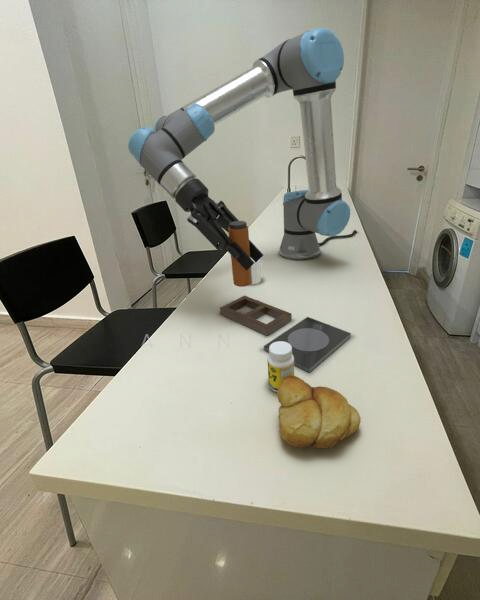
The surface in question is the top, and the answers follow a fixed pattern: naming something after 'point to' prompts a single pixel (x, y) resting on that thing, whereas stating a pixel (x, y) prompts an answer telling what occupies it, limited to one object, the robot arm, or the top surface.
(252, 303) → the frame
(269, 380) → the supplement bottle
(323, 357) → the hob plate
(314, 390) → the bread roll
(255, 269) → the white short cylinder
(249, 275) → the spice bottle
